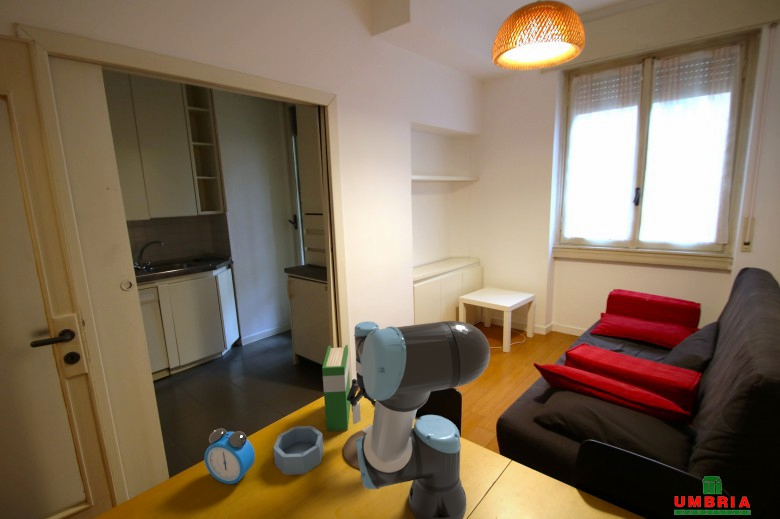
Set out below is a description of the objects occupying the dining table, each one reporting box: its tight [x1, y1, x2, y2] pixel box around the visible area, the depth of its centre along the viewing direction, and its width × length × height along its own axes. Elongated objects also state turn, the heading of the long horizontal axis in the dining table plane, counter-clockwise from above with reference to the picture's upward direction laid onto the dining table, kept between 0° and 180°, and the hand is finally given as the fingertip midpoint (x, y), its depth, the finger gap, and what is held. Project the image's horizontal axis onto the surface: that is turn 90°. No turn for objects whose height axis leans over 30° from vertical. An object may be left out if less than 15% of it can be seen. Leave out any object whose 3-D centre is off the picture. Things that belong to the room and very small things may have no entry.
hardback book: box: [321, 344, 351, 432], centre depth 134 cm, size 18×7×24 cm, turn 2°
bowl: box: [272, 425, 324, 476], centre depth 114 cm, size 14×14×6 cm
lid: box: [343, 424, 373, 470], centre depth 117 cm, size 18×18×7 cm
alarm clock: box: [203, 427, 256, 486], centre depth 106 cm, size 13×6×15 cm, turn 75°
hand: (370, 431), depth 117 cm, fingers open, 13 cm apart
